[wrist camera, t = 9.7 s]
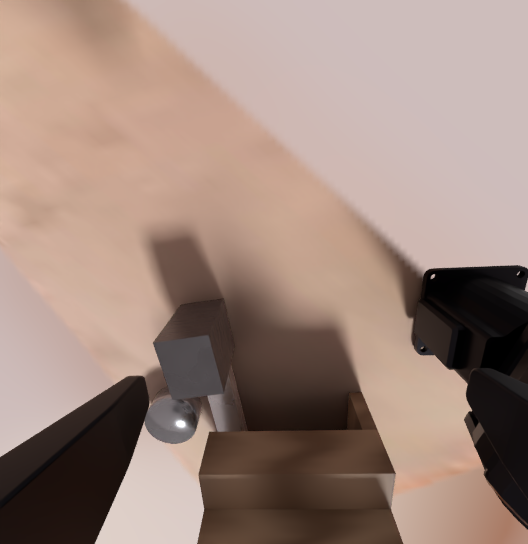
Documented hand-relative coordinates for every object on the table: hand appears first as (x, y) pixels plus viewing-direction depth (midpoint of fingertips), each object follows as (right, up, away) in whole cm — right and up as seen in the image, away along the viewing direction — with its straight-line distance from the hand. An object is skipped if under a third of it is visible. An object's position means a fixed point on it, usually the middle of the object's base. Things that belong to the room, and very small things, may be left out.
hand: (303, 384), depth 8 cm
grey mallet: (-5, -5, +14) cm, 16 cm away
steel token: (-8, -8, +16) cm, 19 cm away
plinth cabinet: (+1, -10, +16) cm, 18 cm away
